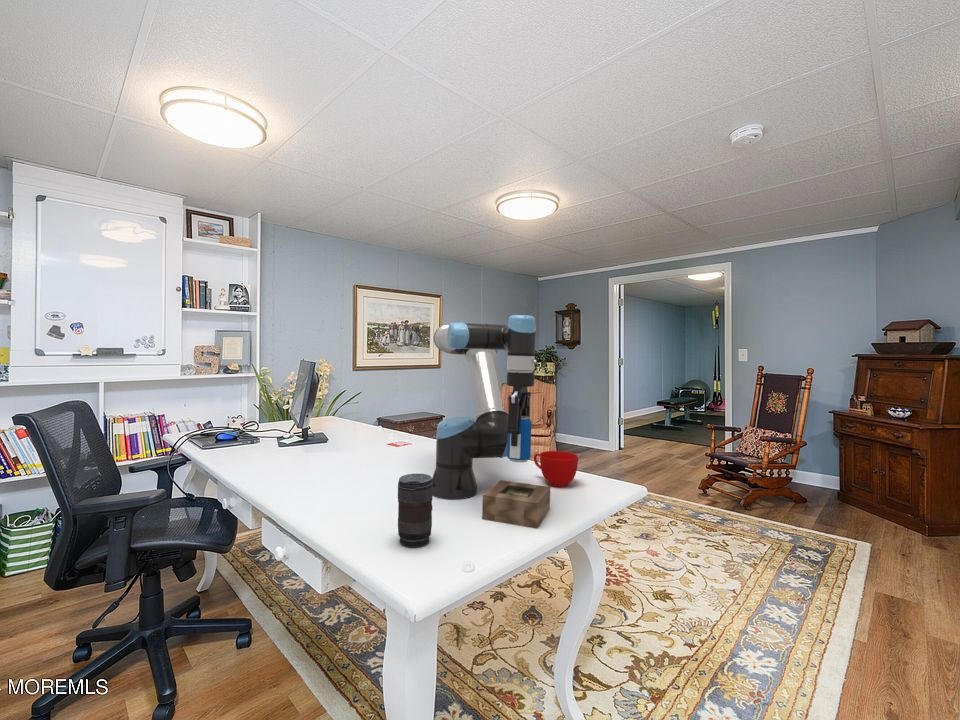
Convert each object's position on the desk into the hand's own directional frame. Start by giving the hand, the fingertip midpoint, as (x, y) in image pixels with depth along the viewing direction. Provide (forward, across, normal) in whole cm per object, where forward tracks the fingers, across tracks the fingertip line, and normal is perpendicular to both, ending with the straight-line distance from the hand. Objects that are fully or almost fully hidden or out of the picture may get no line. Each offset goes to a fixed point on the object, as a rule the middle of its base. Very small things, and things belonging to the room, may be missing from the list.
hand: (518, 454), depth 121 cm
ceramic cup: (+17, +34, -3) cm, 38 cm away
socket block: (+16, 0, 0) cm, 16 cm away
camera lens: (+17, -27, +17) cm, 36 cm away
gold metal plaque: (+12, 0, 0) cm, 12 cm away
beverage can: (+2, 0, 0) cm, 2 cm away
